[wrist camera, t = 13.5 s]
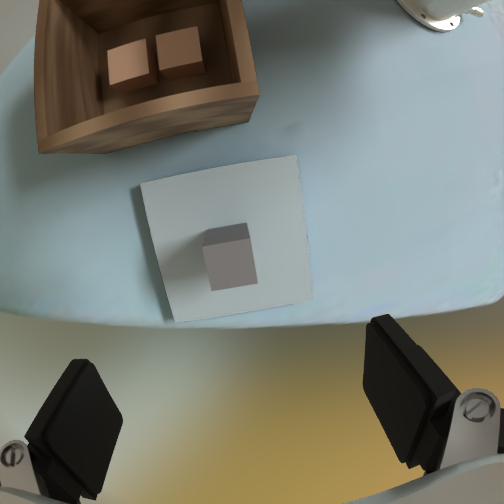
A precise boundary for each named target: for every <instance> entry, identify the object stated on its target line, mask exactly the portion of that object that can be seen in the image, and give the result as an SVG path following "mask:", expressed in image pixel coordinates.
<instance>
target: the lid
mask: <svg viewBox="0 0 504 504" xmlns="http://www.w3.org/2000/svg"><path fill="white" fill-rule="evenodd" d="M140 186H141V191H142V196H143V201H144V205H145V210H146V214H147V219H148V223H149V228H150V232H151V236H152V240H153V244H154V249H155V253H156V256H157V260H158V264H159V268H160V272H161V275H162V279H163V283H164V286H165V290H166V293H167V297H168V300H169V304H170V307H171V310H172V314H173V317H174V320H175V323H178V322H185V321H192V320H199V319H206V318H213V317H219V316H226V315H232V314H238V313H244V312H250V311H256V310H261V309H267V308H273V307H278V306H283V305H289V304H294V303H299V302H304V301H309V300H313V290H312V279H311V269H310V259H309V249H308V240H307V231H306V223H305V215H304V207H303V199H302V191H301V184H300V177H299V170H298V163H297V156H296V155H292V156H284V157H277V158H270V159H263V160H256V161H250V162H244V163H238V164H232V165H226V166H221V167H215V168H210V169H204V170H199V171H194V172H189V173H185V174H180V175H175V176H171V177H166V178H162V179H157V180H153V181H149V182H144V183H140Z"/></svg>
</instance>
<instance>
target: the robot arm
mask: <svg viewBox="0 0 504 504" xmlns="http://www.w3.org/2000/svg"><path fill="white" fill-rule="evenodd" d="M487 1H490V0H397V2H398V3H399V4H400V5H401V6H402V7H403V9H404V10H405V11H406V12H408V13H409V14H410V15H411V16H412V17H413V18H414V19H416V20H417V21H418V22H420V23H421V24H423V25H424V26H426V27H428V28H430V29H433V30H436V31H440V32H448V31H451V30H453V29H455V28H456V27H457V26H458V25H459V22H460V15H461V14H463V13H466V14H468V13H470V14H472V15H474V16H477V17H482V16H483V10H482V9H481V8H480V7H478V5H481V4H483V3H485V2H487ZM365 344H366V345H365V361H364V374H363V389H364V392H365V394H366V396H367V398H368V400H369V402H370V404H371V405H372V407H373V409H374V411H375V413H376V415H377V417H378V419H379V421H380V423H381V425H382V427H383V429H384V431H385V433H386V435H387V437H388V439H389V441H390V443H391V445H392V447H393V449H394V451H395V453H396V455H397V457H398V459H399V461H400V462H401V463H404V462H406V464H407V466H408V468H409V469H410V468H413V467H415V466H417V465H421V467H422V469H423V470H425V472H424V475H423V477H420V478H418V479H415V480H412V481H410V482H407V483H405V484H403V485H400V486H397V487H394V488H392V489H389V490H386V491H383V492H380V493H377V494H374V495H371V496H368V497H364V498H361V499H358V500H354V501H351V502H347V503H343V504H504V409H503V408H500V402H499V400H498V398H497V397H496V396H495V395H494V394H493V393H492V392H490V391H488V390H485V389H481V388H475V389H470V390H467V391H465V392H463V393H462V394H461V393H460V391H459V390H458V389H457V388H456V387H455V385H454V384H453V383H452V382H451V381H450V380H449V378H448V377H447V376H446V375H445V374H444V373H443V371H442V370H441V369H440V368H439V367H438V366H437V364H436V363H435V362H434V361H433V360H432V359H431V358H430V356H429V355H428V354H427V353H426V352H425V351H424V350H423V349H422V347H420V346H419V345H417V344H416V343H415V342H414V341H413V340H412V339H411V338H410V337H409V335H408V334H407V333H406V332H405V331H404V330H403V329H402V328H401V327H400V326H399V324H398V323H397V322H396V321H395V320H394V319H393V318H392V317H391V316H390V315H389V314H385V315H381V316H377V317H373V318H372V319H371V323H368V324H367V325H366V342H365ZM122 423H123V418H122V415H121V413H120V411H119V409H118V408H117V406H116V404H115V403H114V401H113V399H112V397H111V396H110V394H109V392H108V390H107V388H106V387H105V385H104V383H103V381H102V379H101V377H100V375H99V373H98V371H97V369H96V367H95V366H94V364H93V363H91V362H90V361H89V360H88V359H74V360H72V361H71V362H70V364H69V365H68V367H67V368H66V370H65V371H64V373H63V374H62V376H61V377H60V379H59V380H58V382H57V383H56V385H55V386H54V388H53V389H52V391H51V393H50V394H49V396H48V397H47V399H46V401H45V402H44V404H43V406H42V407H41V409H40V410H39V412H38V414H37V416H36V417H35V419H34V421H33V422H32V424H31V426H30V427H29V429H28V431H27V432H26V434H25V436H24V437H25V438H26V439H27V440H28V442H29V444H28V445H26V444H25V443H24V442H23V441H20V440H13V441H10V442H8V443H6V444H5V445H4V446H3V447H2V448H1V449H0V504H81V502H80V500H79V498H80V495H81V496H82V497H83V498H87V499H91V500H96V498H97V494H99V493H100V492H101V490H102V487H103V484H104V480H105V477H106V474H107V470H108V467H109V464H110V461H111V457H112V454H113V451H114V448H115V445H116V441H117V439H118V435H119V433H120V430H121V427H122Z"/></svg>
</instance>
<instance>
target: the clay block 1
mask: <svg viewBox="0 0 504 504" xmlns="http://www.w3.org/2000/svg"><path fill="white" fill-rule="evenodd" d="M107 53H108V69H109V81H110V86H112V87H114V88H115V89H117V90H119V91H120V92H122V93H126V92H130V91H133V90H136V89H140V88H143V87H147V86H151V85H154V84H158V83H159V81H158V72H157V64H156V55H155V51H154V49H153V48H152V47H151V45H150V44H149V42H148V41H147V40H146V38H145V39H142V40H138V41H135V42H132V43H129V44H126V45H123V46H120V47H117V48H114V49H111V50H108V51H107Z"/></svg>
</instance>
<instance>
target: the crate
mask: <svg viewBox="0 0 504 504" xmlns="http://www.w3.org/2000/svg"><path fill="white" fill-rule="evenodd" d="M196 26H197V27H198V31H199V35H200V39H201V44H202V50H203V57H204V64H205V70H206V73H203V74H198V75H193V76H188V77H184V78H179V79H175V80H170V81H168V80H167V79H166V78H165V77H164V75H163V74H162V73H161V72H160V70H159V62H158V53H157V44H156V35H160V34H164V33H168V32H172V31H177V30H181V29H186V28H191V27H196ZM145 38H146V40H147V41H148V42H149V44H150V45H151V47H152V48H153V49H154V51H155V55H156V64H157V72H158V81H159V83H158V84H154V85H151V86H147V87H143V88H140V89H136V90H133V91H130V92H126V93H122V92H120V91H119V90H117V89H115V88H114V87H112V86H110V81H109V69H108V53H107V51H108V50H111V49H114V48H117V47H120V46H123V45H126V44H129V43H132V42H135V41H138V40H142V39H145ZM259 95H260V94H259V88H258V83H257V77H256V72H255V66H254V61H253V56H252V50H251V45H250V40H249V35H248V30H247V25H246V20H245V15H244V10H243V5H242V0H40V1H39V8H38V16H37V25H36V37H35V54H34V100H35V118H36V130H37V140H38V149H39V154H45V153H92V154H106V153H110V152H113V151H116V150H120V149H123V148H127V147H131V146H134V145H138V144H142V143H146V142H149V141H153V140H158V139H162V138H166V137H170V136H175V135H179V134H184V133H189V132H193V131H198V130H204V129H209V128H214V127H220V126H226V125H232V124H238V123H245V122H248V121H249V119H250V117H251V114H252V112H253V109H254V107H255V104H256V102H257V100H258V97H259Z"/></svg>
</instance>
